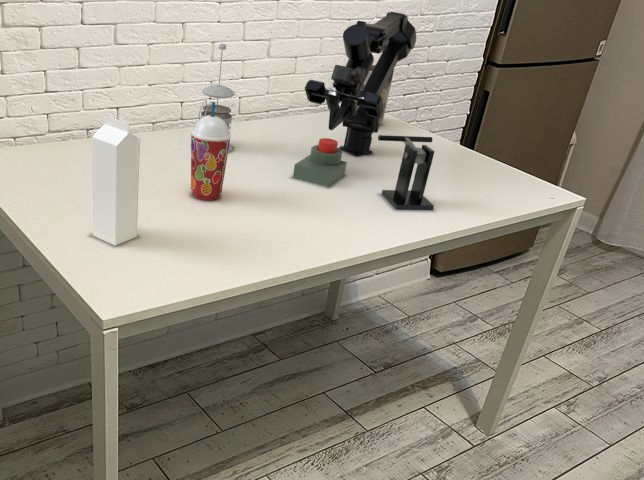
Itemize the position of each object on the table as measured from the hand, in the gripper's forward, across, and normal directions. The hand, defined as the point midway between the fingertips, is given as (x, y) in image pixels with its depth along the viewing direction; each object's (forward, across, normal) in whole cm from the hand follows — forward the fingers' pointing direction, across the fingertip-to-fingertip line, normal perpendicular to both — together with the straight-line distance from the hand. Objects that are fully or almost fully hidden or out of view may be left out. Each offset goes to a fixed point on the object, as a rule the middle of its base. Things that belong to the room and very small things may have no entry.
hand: (330, 129), depth 173 cm
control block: (+9, 0, +6) cm, 11 cm away
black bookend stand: (+10, +22, +6) cm, 25 cm away
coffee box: (-28, -7, +44) cm, 53 cm away
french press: (+10, -30, +6) cm, 32 cm away
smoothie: (+30, -15, -14) cm, 37 cm away
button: (+4, 0, +4) cm, 5 cm away
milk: (+51, -17, -35) cm, 65 cm away
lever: (+1, +20, 0) cm, 20 cm away
